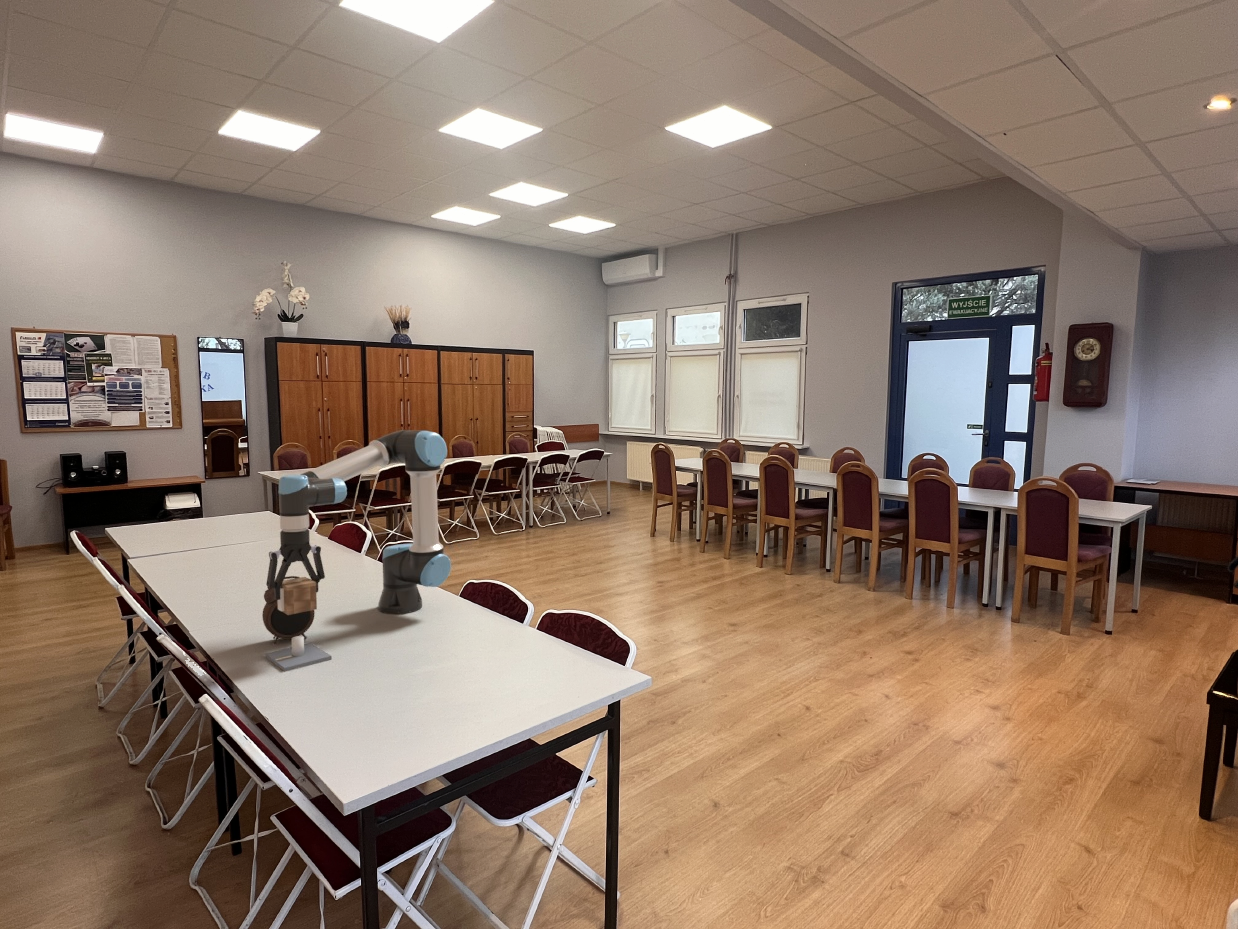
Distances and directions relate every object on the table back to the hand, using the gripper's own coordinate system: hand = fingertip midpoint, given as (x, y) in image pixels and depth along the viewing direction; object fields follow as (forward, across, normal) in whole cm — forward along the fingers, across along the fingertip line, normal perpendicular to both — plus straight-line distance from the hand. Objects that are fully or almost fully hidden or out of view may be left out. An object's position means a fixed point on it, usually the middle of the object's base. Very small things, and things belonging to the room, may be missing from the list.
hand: (297, 606), depth 196 cm
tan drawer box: (+1, 0, 0) cm, 1 cm away
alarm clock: (+15, -4, -17) cm, 23 cm away
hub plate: (+15, 0, 0) cm, 15 cm away
